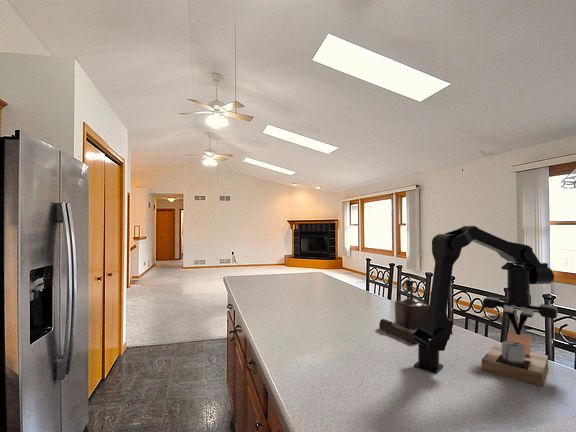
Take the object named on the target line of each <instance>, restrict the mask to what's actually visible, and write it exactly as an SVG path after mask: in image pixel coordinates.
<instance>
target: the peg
mask: <svg viewBox="0 0 576 432" xmlns="http://www.w3.org/2000/svg"><path fill="white" fill-rule="evenodd" d="M501 346H502V363H503V364H507V365H511V366H515V367H519V368H523V369H525V346H524V345H523V344H520V343H517V342H512V341H507V340H504V341H502V342H501Z"/></svg>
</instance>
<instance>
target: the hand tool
mask: <svg viewBox="0 0 576 432" xmlns="http://www.w3.org/2000/svg"><path fill="white" fill-rule="evenodd" d="M378 325H379V326H378V327H379V329H380V330H381V331H382V332H384V333H386V334H392V335H395V336H397V337H399V338H401V339H404V340H406V341H407V342H410V343H411V344H412V345H416V344H417V345H418V343H417V342H415V341H414V340H413V337H412V334H413V333H414V332H415V331H411V330H410V329H406V328H404V327H402V326H401V327H400V326H399V325H398V326H397V325H396V324H394V323H393V322H392V321H390V320H388V319H385V318H382V319H380V321H379V324H378Z"/></svg>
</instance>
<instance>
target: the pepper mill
mask: <svg viewBox="0 0 576 432" xmlns="http://www.w3.org/2000/svg"><path fill="white" fill-rule="evenodd" d="M413 284H414V281H413V280H412V279H409V278H408V279H406V280H404V285H405V286H406V289H405V290H403V292H405V293H410V297H408V298H406V299H404V300H396V301H394V322H395V323H396V324H397V325H398V326H401V328H403V329H407V330H417V329H418V328H419V327H420V324H421V321H422V318H423V315H424V314H425V313H426V311H427V310H428V309H429V304H426V303H424V301H421V300H420V297H418V298H415V297H414V296H413V295H414V294H413V293H414V287H413Z"/></svg>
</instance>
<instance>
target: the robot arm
mask: <svg viewBox="0 0 576 432" xmlns="http://www.w3.org/2000/svg"><path fill="white" fill-rule="evenodd" d="M431 240H432V241H431V253H432V254H431V255H432V257H433V259H434V268H433V269H434V270H433V275H432V283H431V288H430V289H431V291H430V298H429V304H428V305H429V309H428V310H427V311H426V313H425V314H424V315H423V318H422V321H421V324H420V327H419V328H418V329H415V331H413V332H414V333H413V334H412V337H413V340H414V341H415V342H417V347H418V348H417V354H418V355H417V361H416V362H415V363H414V364H413V367H415V368H418V369H421V370H424V371H428V372H430V373H433V374H437V373H439V372H440V370H441V369H443V368H444V364H441V363H440V352H441V351H442V352H444V351H445V350H446V348H447V344H448V341H449V340H450V338H451V336H453V335H454V334H453V327H454V320H453V319H450V318H449V317H448V313H447V312H448V304H449V297H450V289H451V282H452V275H453V268H454V265H455V263H456V261H457V260H458V259H459V258H460V255H461V252H462V249H463V248H465V247H467V246H469V245H470V244H471V243H472V242H474V243H475V244H478V245H481V246H482V247H485V248H487V249H489V250H492V251H494V252H496V253H497V254H498V255H499V256H500V257H501V258H503V259H504V260H505V261H507V262H506V263H505V264H504V265H502V266H501V270H505V271H507V276H506V278H507V282H506V283H507V284H506V285H507V286H506V287H505V291H504V297H505V298H506V299H507V300H506V301H502V300H501V299H500V298H499V297H493V296H487V297H485V298H484V299H482V308H486V309H493V310H494V309H495V308H497V307H498V308H499V307H500V308H503V314H505V315H507V316H508V318H509V320H510V322H511V324H512V326H513V328H514V331H515V332H516V334H517V335H520V334H522V331H523V328H524V326H525V323H526V321H527V320H528V318H533V316H534V314H535V313H537V314H539V315H540V316H541V317H542V318H549V319H557V317H558V307H557V306H556V305H549V304H544V303H543V304H542V303H540V305H538V306H537V305H532V295H531V294H530V293H531V291H530V285H551V284H552V283H553V282H554V280H555V274H554V272H553V270H552V269H551V268H550V267H549V266H548V265H549V264H548V263H547V262H540V260H539V259H538V257H537V256H536V254H535V252H534V251H533V247H532V246H530V245H528V244H524V243H517V242H513V241H508V240H505V239H503V238H501V237H498V236H497V235H494V234H492V233H489V232H487V231H485V230H483V229H480V228H479V227H477V226H476V225H463V226H461V227H459V228H457V229H453V230H451V231H448V232H445V233H437V234H436V235H435V236H434V237H432V239H431ZM518 311H521V312H520V314H519V318H518Z"/></svg>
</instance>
